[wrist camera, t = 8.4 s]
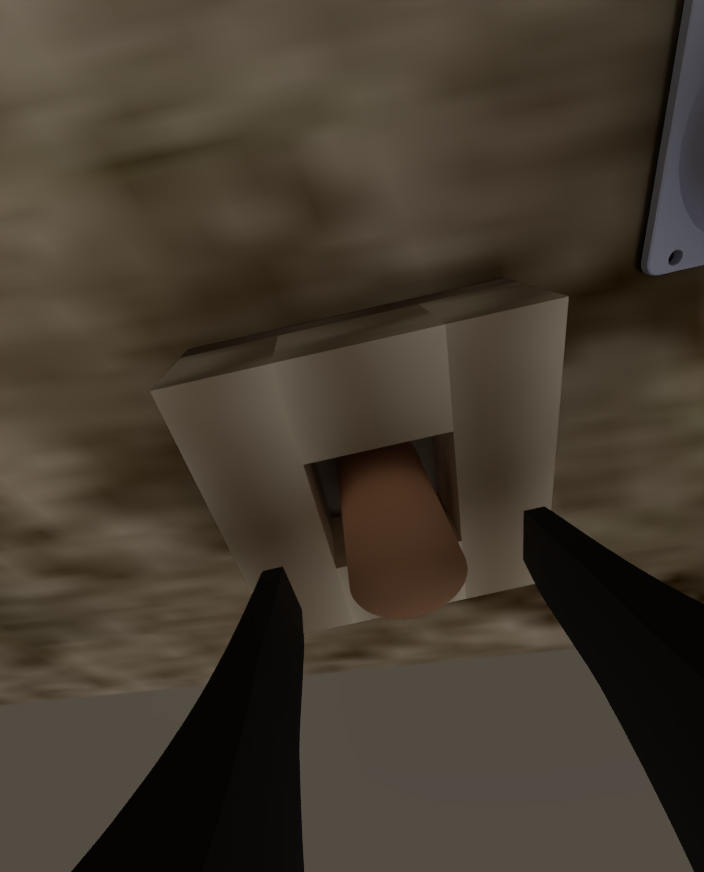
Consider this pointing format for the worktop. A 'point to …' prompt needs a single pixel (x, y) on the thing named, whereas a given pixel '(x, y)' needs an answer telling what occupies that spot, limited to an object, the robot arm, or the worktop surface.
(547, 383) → the socket block
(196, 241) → the worktop surface
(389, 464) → the peg
